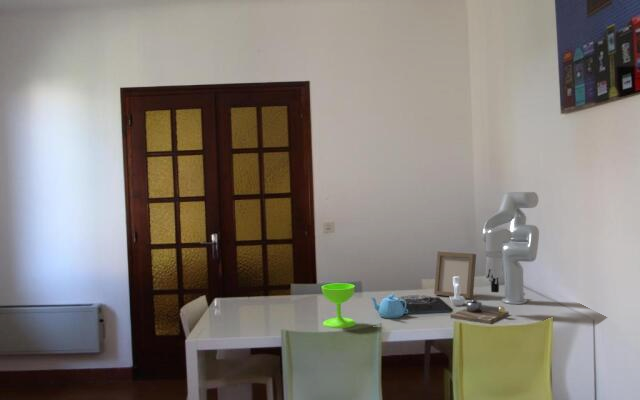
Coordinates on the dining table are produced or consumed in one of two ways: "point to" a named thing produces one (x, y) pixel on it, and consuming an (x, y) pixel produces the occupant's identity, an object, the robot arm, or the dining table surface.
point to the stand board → (479, 316)
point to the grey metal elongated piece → (482, 307)
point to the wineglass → (338, 303)
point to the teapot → (390, 307)
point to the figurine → (457, 293)
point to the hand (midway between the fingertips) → (495, 291)
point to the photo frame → (455, 273)
